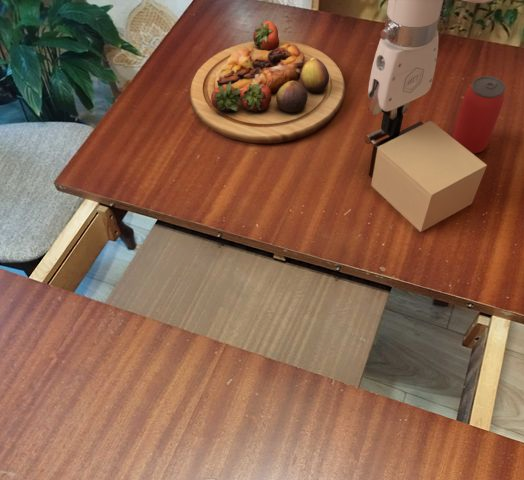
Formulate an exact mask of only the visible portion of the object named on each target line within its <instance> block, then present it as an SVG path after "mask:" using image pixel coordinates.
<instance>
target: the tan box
mask: <svg viewBox="0 0 524 480" xmlns="http://www.w3.org/2000/svg"><path fill="white" fill-rule="evenodd" d="M486 169H487V164H486V163H485V162H484V161H483V160H481V159H480V158H479V157H477V156H476V155H475V154H472V153H471V152H470V151H469V150H467V149H466V148H465V147H464V146H462V145H461V144H460V143H459V142H457V141H456V140H455V139H453V138H452V136H451V135H450V134H449V133H447V132H446V131H445V130H443V128H441V127H439V126H438V125H437V124H436V123H435V122H434V121H433V120H429V121H427V122H425V123H423V125H421V126H419V127H417V128H415V129H413V130H411V131H409V132H407V133H405V134H403V135H401V136H399V137H397V138H395V139H393V140H391V141H389V142H387V143H385V144H383V145H380V146H378V148H377V154H376V160H375V166H374V172H373V178H371V179H372V180H371V184H370V186H371V187H372V188H373V189H374V190H375V191H376V192H378V194H379V195H380V196H381V197H382V198H383V199H385V200H386V201H387V202H388V203H389V204H390V206H392V207H393V208H394V209H395V210H396V211H397V212H398V213H399V214H400V215H402V216H403V217H404V218H405V219H406V221H408V222H409V223H410V224H411V225H412V226H413V227H414V228H415V229H416V230H418V232H420V233H422V232H424V231H426V230H427V229H430V228H431V227H433V226H435V225H436V224H439V223H441V222H442V221H443V220H446V219H447V218H449V217H450V216H452V215H455V214H456V213H458V212H460V211H462V210H463V209H465V208H467V207H468V206H470V205H472V204H473V202H474V199H475V197H476V194H477V191H478V190H479V186H480V184H481V181H482V179H483V176H484V174H485V171H486Z"/></svg>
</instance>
